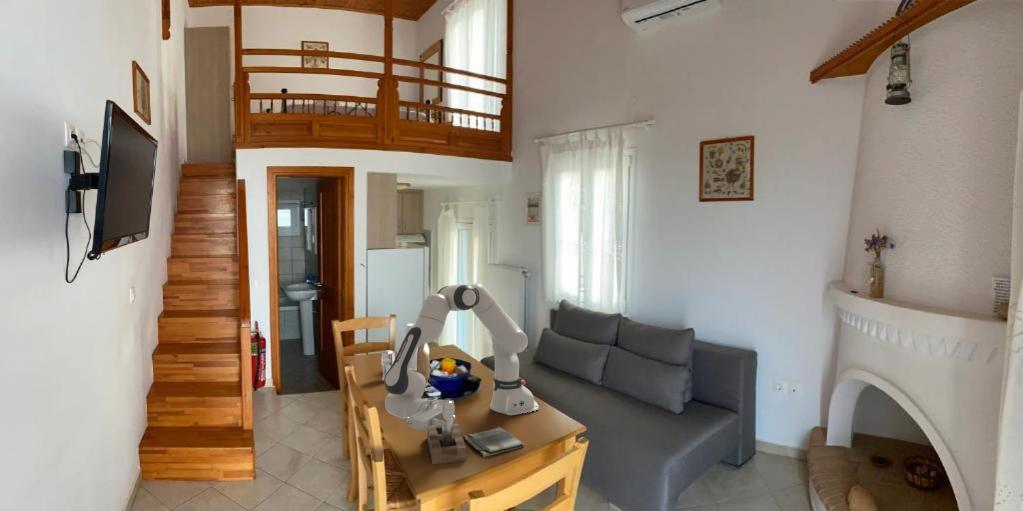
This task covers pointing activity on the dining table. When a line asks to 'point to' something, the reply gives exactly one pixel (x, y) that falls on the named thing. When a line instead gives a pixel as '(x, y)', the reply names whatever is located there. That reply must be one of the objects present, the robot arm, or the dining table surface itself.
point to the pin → (448, 422)
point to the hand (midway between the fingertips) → (449, 420)
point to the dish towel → (493, 442)
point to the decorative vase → (414, 360)
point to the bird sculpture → (423, 362)
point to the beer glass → (387, 361)
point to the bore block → (446, 452)
